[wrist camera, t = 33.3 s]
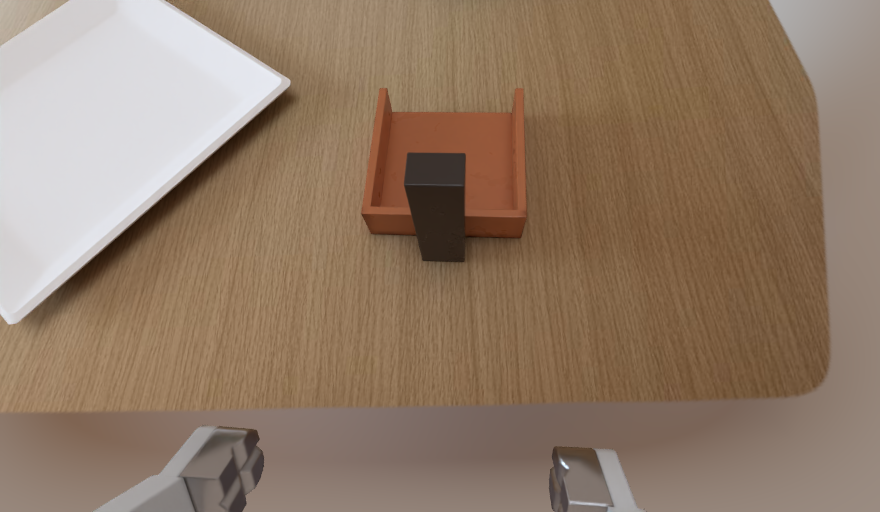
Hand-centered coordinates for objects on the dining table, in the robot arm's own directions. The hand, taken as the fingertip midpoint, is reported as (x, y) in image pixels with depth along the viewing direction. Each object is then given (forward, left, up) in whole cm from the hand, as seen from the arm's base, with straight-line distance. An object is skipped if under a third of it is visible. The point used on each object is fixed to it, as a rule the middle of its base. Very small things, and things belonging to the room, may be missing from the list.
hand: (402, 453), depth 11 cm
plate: (+22, -33, -15) cm, 42 cm away
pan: (-6, -18, -15) cm, 24 cm away
